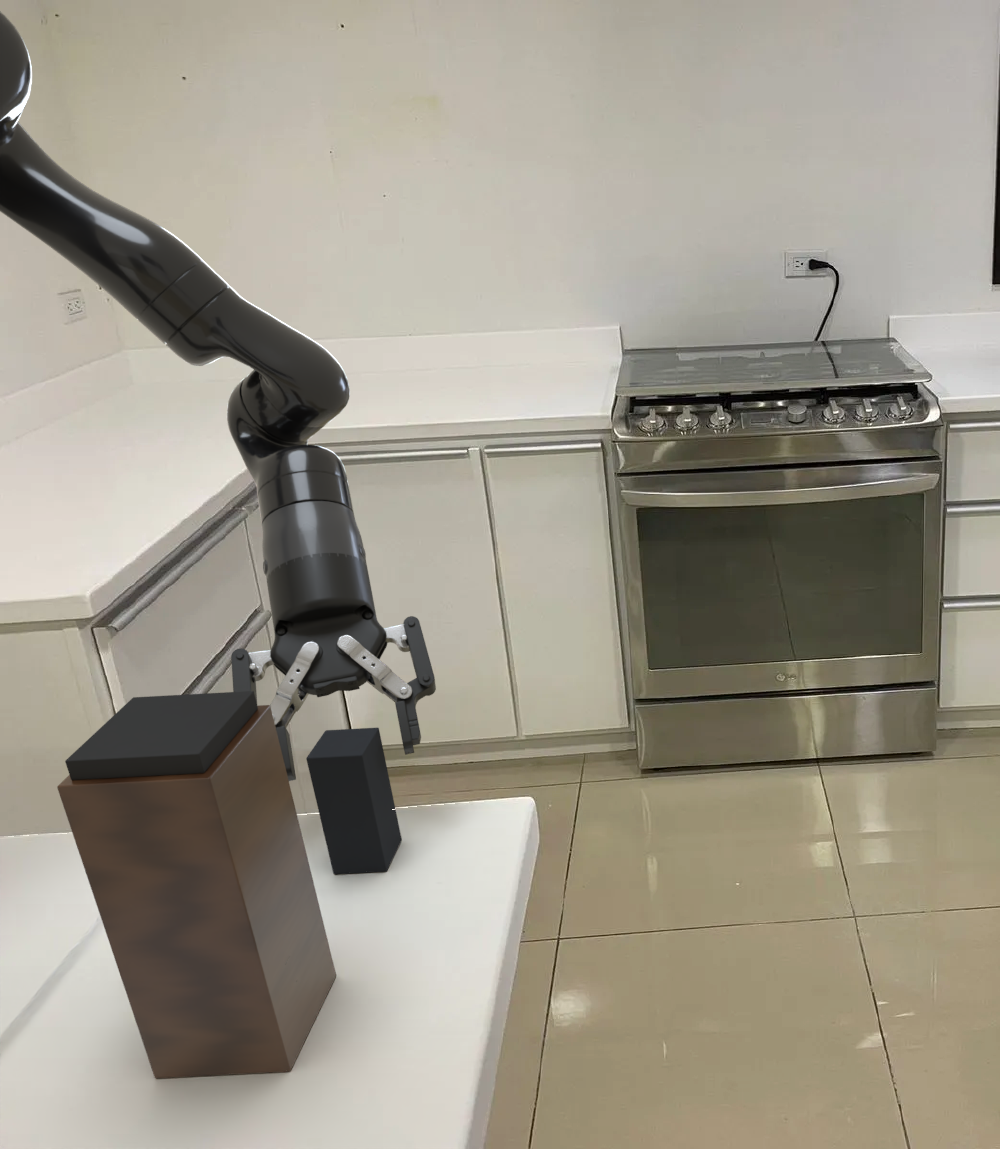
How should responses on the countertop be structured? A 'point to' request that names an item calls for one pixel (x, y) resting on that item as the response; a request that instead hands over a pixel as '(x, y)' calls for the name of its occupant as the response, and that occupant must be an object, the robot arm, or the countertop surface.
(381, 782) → the foam block
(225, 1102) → the countertop surface
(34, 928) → the countertop surface
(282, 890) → the block
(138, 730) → the rubber pad
